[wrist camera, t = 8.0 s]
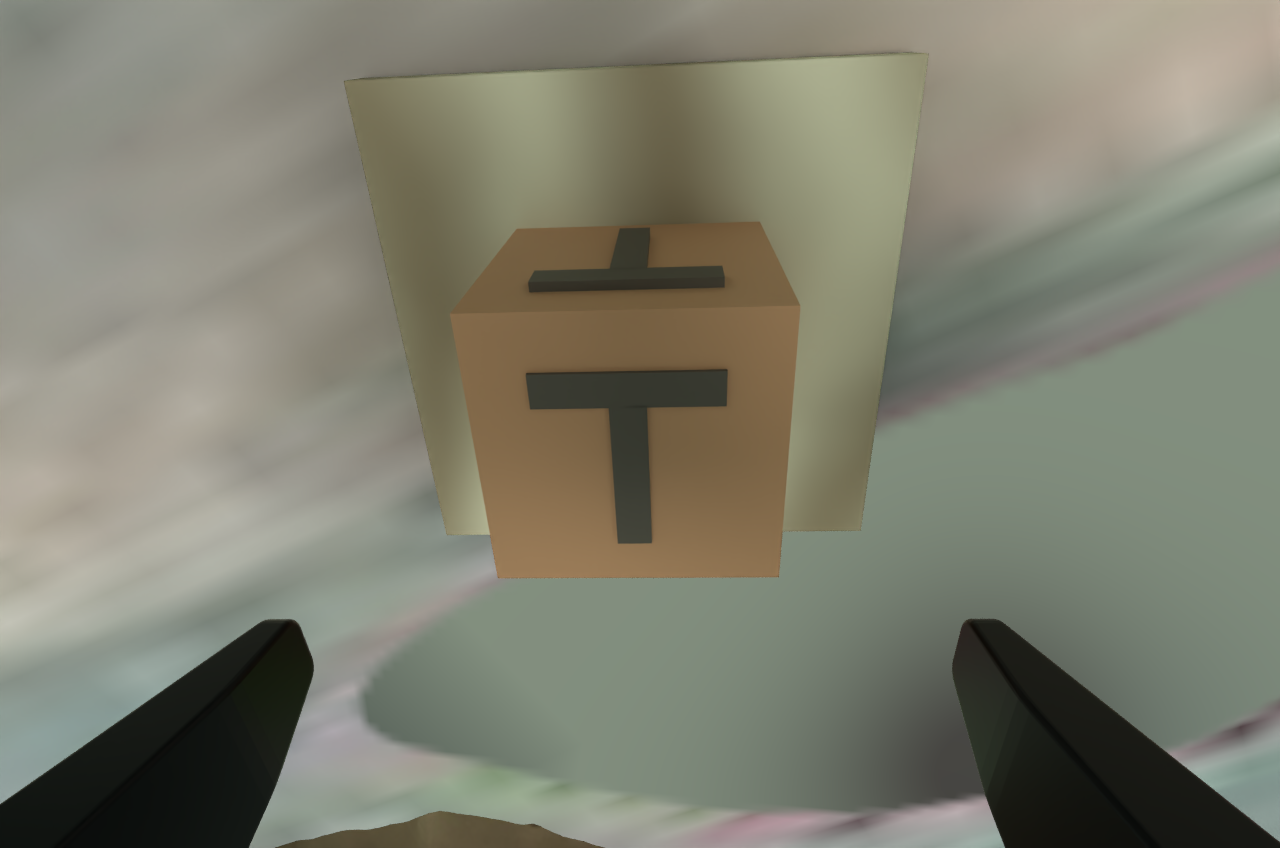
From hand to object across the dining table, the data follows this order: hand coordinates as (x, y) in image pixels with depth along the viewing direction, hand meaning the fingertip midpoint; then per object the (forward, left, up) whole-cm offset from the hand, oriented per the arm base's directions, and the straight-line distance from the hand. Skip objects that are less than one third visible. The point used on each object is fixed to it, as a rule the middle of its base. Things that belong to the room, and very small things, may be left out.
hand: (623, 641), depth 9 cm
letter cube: (0, 0, -11) cm, 11 cm away
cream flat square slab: (0, 0, -12) cm, 12 cm away
